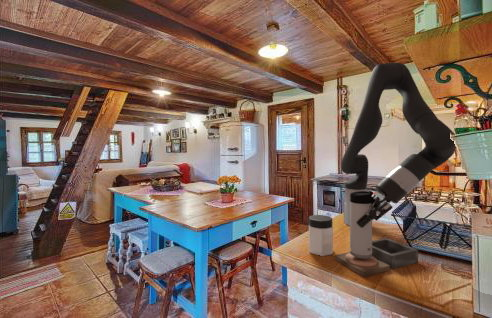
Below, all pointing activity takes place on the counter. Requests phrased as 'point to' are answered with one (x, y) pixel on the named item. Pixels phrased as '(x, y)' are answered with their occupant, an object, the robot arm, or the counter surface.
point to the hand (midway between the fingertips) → (355, 221)
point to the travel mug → (358, 235)
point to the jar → (320, 235)
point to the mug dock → (380, 258)
